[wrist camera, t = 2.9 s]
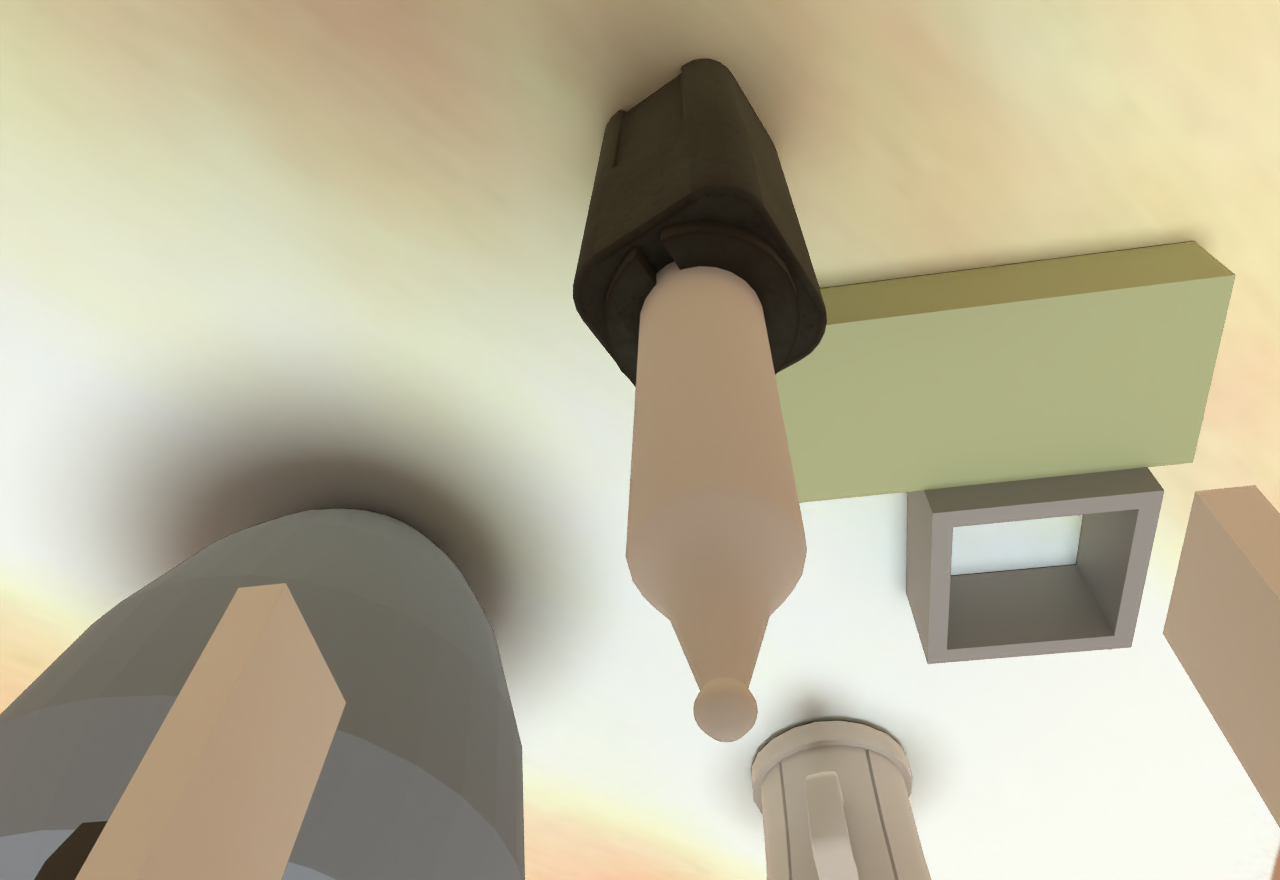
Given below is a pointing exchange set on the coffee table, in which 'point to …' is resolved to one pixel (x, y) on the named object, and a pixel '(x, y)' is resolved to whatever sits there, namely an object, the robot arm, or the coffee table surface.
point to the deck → (1014, 428)
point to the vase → (364, 672)
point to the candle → (704, 367)
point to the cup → (837, 805)
